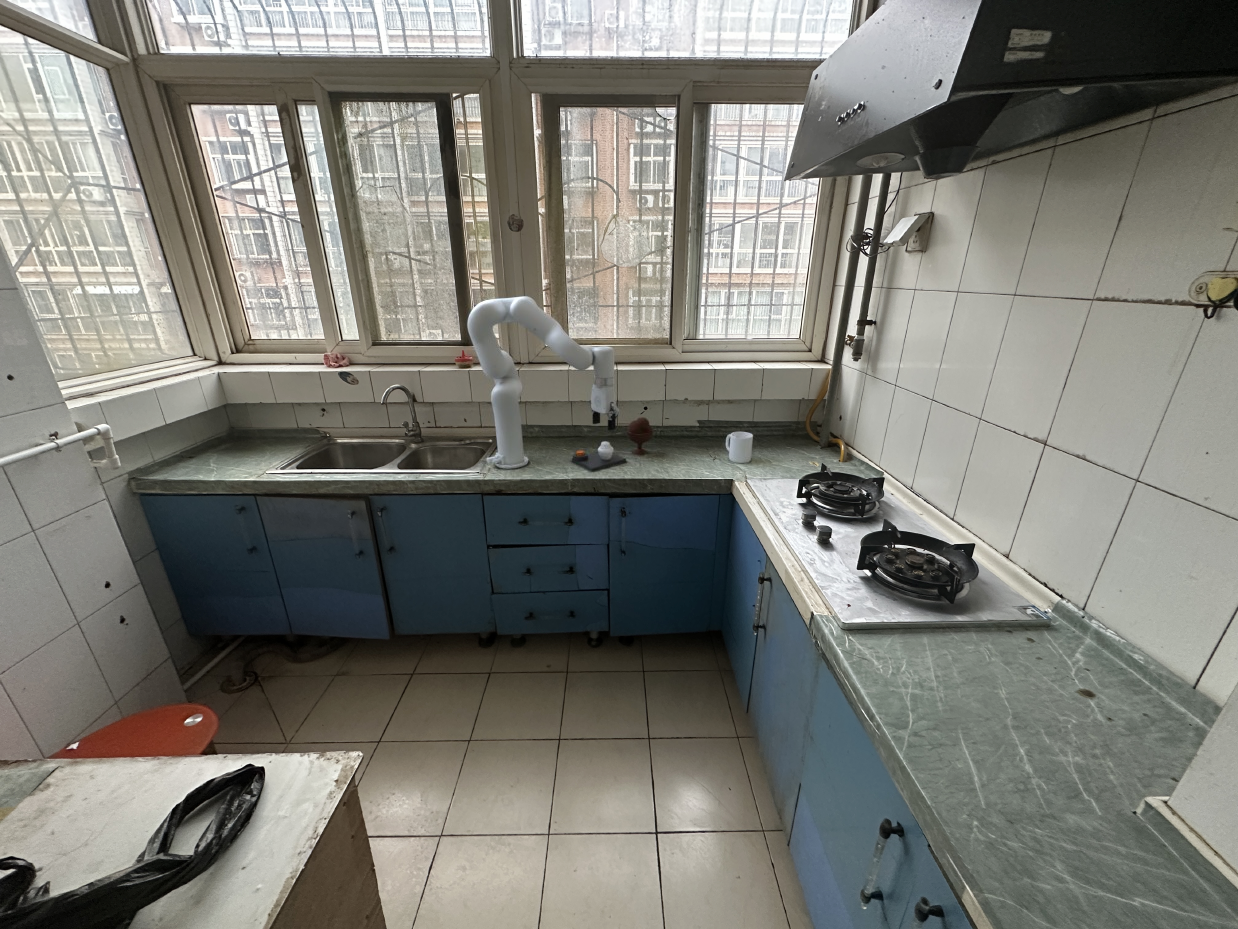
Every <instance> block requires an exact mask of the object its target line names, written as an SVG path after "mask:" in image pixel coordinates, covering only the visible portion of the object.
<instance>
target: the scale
mask: <svg viewBox="0 0 1238 929" xmlns="http://www.w3.org/2000/svg"><path fill="white" fill-rule="evenodd" d="M571 462H572V463H574V464H576V465H578V466H580V467H582V468H584V469H586V470H588V471H590V472H596V471H600V470H604V469H606V468H610V467H613V466H617V465H620V464H624V463H627V458H625V457H623V456H621V455H618V454H616V453H615V452H613V454H612V456H611V458H610V459H609V460H603V459H602V458H601V457H600V455H599V452H598V450H596V451H593V452H590V453H588V452H584V456H577V452H573V454H572V457H571Z"/></svg>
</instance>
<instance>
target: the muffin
mask: <svg viewBox="0 0 1238 929" xmlns="http://www.w3.org/2000/svg"><path fill="white" fill-rule="evenodd" d="M614 450H615V449H614V447H613V446H612V445H611V443H610V441H602V442H601V443H600V446H599V447H598V448H597V451H598V452H599V455H600V457H601V458H602V459H603V460H609V459H610V458H611V456H612V454H613V453H614Z"/></svg>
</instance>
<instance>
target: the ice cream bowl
mask: <svg viewBox="0 0 1238 929" xmlns="http://www.w3.org/2000/svg"><path fill="white" fill-rule="evenodd" d="M653 435H654V428H652V426H651V425H650V421H649V419H647V418H646V417H644V416H642V417H641V416H640V417H638V418H637V419H636V420H633V421H631V422H630V423H629V424H628V427H627V428H626V436H627V438H628V439H629V440H630V441H631V442H633V443H634V444H637V448H636V449H634V450H633V451H632V454H634V455H638V456H641V455H645V454H647V450H645V449H643V444H646V443H647V442H649V441H650V440H651V439H652V437H653Z"/></svg>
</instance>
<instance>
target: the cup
mask: <svg viewBox="0 0 1238 929" xmlns="http://www.w3.org/2000/svg"><path fill="white" fill-rule="evenodd" d="M753 438H754V435H753V434H752V433H750V432H746V431H733V432H730V433H729V434H727V436H726V438H725V448H726V450H727V451H728V460H729V461H730V462H731V463H732V462H733V463H736V464H747V463H749V462H750V461H751V460H752V449H753Z"/></svg>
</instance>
